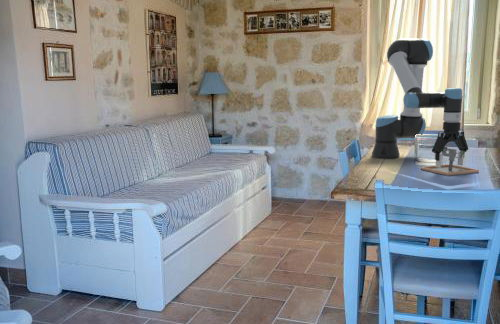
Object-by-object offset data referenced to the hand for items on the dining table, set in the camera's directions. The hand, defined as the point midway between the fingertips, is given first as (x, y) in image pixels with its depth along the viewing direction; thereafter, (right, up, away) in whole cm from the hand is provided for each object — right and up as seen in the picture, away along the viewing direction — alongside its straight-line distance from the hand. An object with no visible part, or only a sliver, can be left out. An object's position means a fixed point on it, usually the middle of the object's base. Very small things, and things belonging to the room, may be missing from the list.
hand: (449, 166), depth 228 cm
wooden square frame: (0, -2, 0) cm, 2 cm away
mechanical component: (+1, -2, +1) cm, 2 cm away
